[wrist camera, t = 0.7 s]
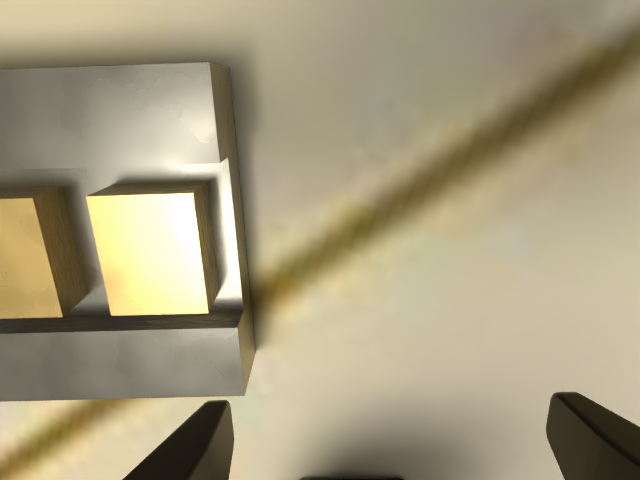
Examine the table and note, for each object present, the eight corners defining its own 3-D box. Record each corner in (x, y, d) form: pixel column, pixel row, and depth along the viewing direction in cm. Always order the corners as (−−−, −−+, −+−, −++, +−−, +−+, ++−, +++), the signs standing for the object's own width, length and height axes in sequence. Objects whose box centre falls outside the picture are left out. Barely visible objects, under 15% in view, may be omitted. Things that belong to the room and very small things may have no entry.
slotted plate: (255, 351, 23) (244, 395, 20) (-6, 358, 23) (-61, 402, 20) (229, 67, 18) (209, 62, 15) (-97, 78, 19) (-188, 75, 15)
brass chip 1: (87, 295, 20) (63, 317, 18) (0, 297, 20) (-34, 319, 18) (62, 186, 18) (32, 198, 16) (-32, 189, 18) (-74, 201, 16)
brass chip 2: (219, 291, 20) (208, 313, 18) (131, 294, 20) (111, 315, 18) (206, 182, 18) (192, 193, 16) (110, 185, 18) (85, 196, 16)
